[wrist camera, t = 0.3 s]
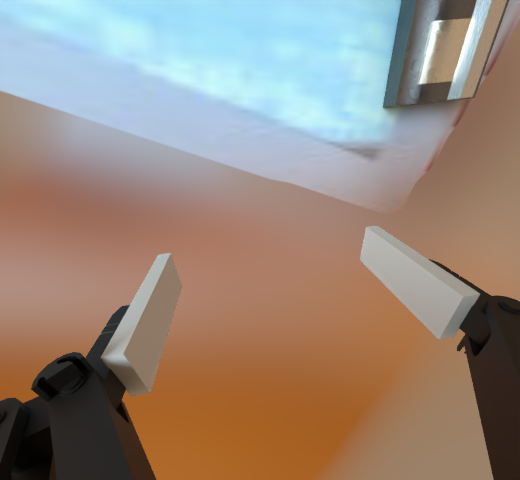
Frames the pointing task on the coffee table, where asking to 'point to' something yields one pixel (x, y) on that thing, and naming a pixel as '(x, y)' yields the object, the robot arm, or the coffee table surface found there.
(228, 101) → the coffee table surface
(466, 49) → the ball-tipped flat stick
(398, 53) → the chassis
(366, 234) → the robot arm
